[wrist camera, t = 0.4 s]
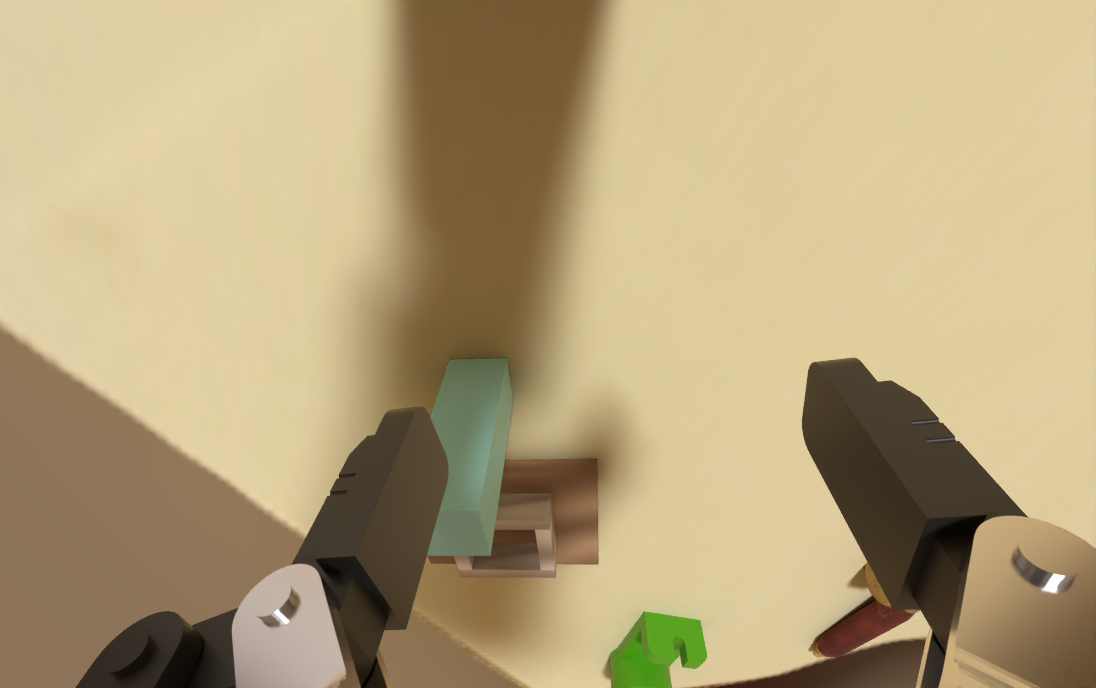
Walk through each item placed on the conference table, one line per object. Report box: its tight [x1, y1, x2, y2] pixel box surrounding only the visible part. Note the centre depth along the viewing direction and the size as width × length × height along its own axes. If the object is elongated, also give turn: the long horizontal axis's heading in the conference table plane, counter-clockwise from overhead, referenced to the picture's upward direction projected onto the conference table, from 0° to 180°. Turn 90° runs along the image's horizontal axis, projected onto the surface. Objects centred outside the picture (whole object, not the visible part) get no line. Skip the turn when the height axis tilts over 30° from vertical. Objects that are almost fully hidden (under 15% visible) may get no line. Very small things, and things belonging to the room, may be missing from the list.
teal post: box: [427, 358, 513, 556], centre depth 30 cm, size 4×4×12 cm
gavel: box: [813, 562, 920, 657], centre depth 49 cm, size 21×5×10 cm
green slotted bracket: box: [610, 612, 707, 688], centre depth 56 cm, size 15×7×5 cm, turn 167°
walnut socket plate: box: [428, 459, 598, 578], centre depth 42 cm, size 13×16×4 cm
